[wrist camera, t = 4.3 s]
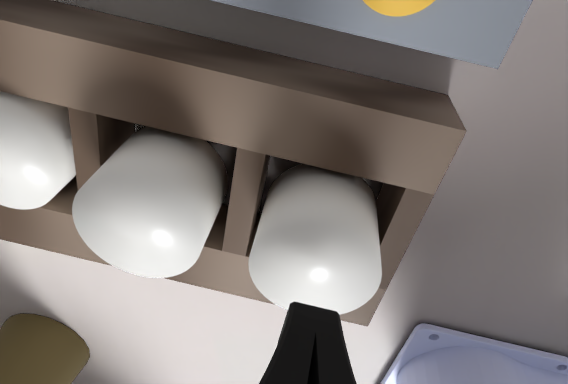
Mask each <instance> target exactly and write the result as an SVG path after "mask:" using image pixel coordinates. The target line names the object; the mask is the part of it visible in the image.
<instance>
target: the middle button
mask: <svg viewBox="0 0 568 384" xmlns="http://www.w3.org/2000/svg"><path fill="white" fill-rule="evenodd" d="M227 188H228V176H227V172H226V168H225V166H224V163H223V161H222V159H221V158H220V156H219V155H218V153H217V152H216V150H215V149H214V148H213V147H212V146H211V145H210V144H209V143H208V142H207V141H205V140H203V139H199V138H194V137H190V136H186V135H182V134H178V133H173V132H169V131H165V130H161V129H157V128H153V127H148V126H147V127H144V128H141V129H139V130H138V131H136V132H134V133H133V134H132V135H131V136H130V137H129V138H128V139H127V140H126V141H125V142H124V143H123V144H122V145H121V146H120V147H119V148H118V149H117V150H116V151H115V152H114V153H113V154H112V156H111V157H110V158H109V159H108V160H107V161H106V162H105V163H104V164H103V165H102V166H101V167H100V168H99V169H98V170H97V171H96V172H95V173H94V174H93V175H92V176H91V177H90V178H89V179H88V181H87V182H86V183H85V184H84V185H83V186H82V187H81V188H80V189H79V190H78V192H77V193H76V195H75V197H74V201H73V205H72V216H73V220H74V224H75V226H76V229H77V231H78V233H79V235H80V236H81V238H82V239H83V241H84V242H85V243H86V245H87V246H88V247H89V248H90V249H91V250H92V251H93V252H94V253H95V254H96V255H98V256H99V257H100V258H101V259H103V260H104V261H106V262H107V263H109V264H110V265H112V266H114V267H116V268H118V269H120V270H122V271H125V272H127V273H130V274H133V275H137V276H141V277H147V278H167V277H172V276H176V275H179V274H181V273H183V272H185V271H187V270H188V269H189V268H191V267H192V266H193V265H194V264H195V263H196V261H197V259H198V258H199V256H200V253H201V251H202V249H203V246H204V244H205V242H206V239H207V237H208V235H209V233H210V230H211V228H212V226H213V223H214V221H215V219H216V216H217V214H218V212H219V209H220V207H221V205H222V203H223V200H224V198H225V195H226V193H227Z"/></svg>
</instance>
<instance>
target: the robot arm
mask: <svg viewBox="0 0 568 384" xmlns="http://www.w3.org/2000/svg"><path fill="white" fill-rule="evenodd" d="M259 384H356V381H355V377H354V374H353V371H352V367H351V364H350V360H349V356H348V352H347V348H346V344H345V340H344V336H343V331H342V326H341V320H340V315H339V313H338V312H337V311H333V310H329V309H325V308H320V307H316V306H312V305H308V304H303V303H299V302H292V303H290V305H289V308H288V312H287V315H286V318H285V321H284V324H283V328H282V331H281V334H280V337H279V340H278V345H277V348H276V350H275V352H274V354H273V357H272V359H271V361H270V363H269V365H268V367H267V369H266V371H265V373H264V375H263V377H262V379H261V381H260V383H259ZM380 384H568V357H565V356H561V355H556V354H552V353H548V352H544V351H540V350H535V349H531V348H527V347H523V346H519V345H514V344H510V343H506V342H502V341H498V340H493V339H489V338H485V337H481V336H476V335H472V334H468V333H464V332H460V331H455V330H451V329H447V328H443V327H439V326H434V325H430V324H425V323H423V324H419V325H417V326H416V327H415V328H414V330H413V331H412V333H411V335H410V336H409V338H408V339H407V341H406V343H405V344H404V346H403V348H402V349H401V351H400V352H399V354H398V356H397V357H396V359H395V361H394V362H393V364H392V365H391V367H390V369H389V370H388V372H387V374H386V375H385V377H384V378H383V380H382V382H381V383H380Z"/></svg>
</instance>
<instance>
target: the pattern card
mask: <svg viewBox="0 0 568 384" xmlns="http://www.w3.org/2000/svg"><path fill="white" fill-rule="evenodd" d="M211 1H216V2H220V3H224V4H228V5H232V6H236V7H241V8H245V9H249V10H253V11H257V12H262V13H266V14H270V15H274V16H278V17H282V18H287V19H291V20H295V21H299V22H303V23H307V24H312V25H316V26H320V27H324V28H328V29H332V30H337V31H341V32H345V33H349V34H353V35H358V36H362V37H366V38H370V39H374V40H378V41H383V42H387V43H391V44H395V45H399V46H403V47H408V48H412V49H416V50H420V51H424V52H428V53H433V54H437V55H441V56H445V57H449V58H454V59H458V60H462V61H466V62H470V63H474V64H479V65H483V66H487V67H491V68H495V69H498V68H499V66H500V64H501V62H502V60H503V58H504V56H505V54H506V52H507V50H508V48H509V46H510V44H511V42H512V40H513V38H514V36H515V34H516V32H517V30H518V29H519V27H520V25H521V23H522V21H523V19H524V17H525V15H526V13H527V11H528V9H529V7H530V5H531V3H532V1H533V0H211Z"/></svg>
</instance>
